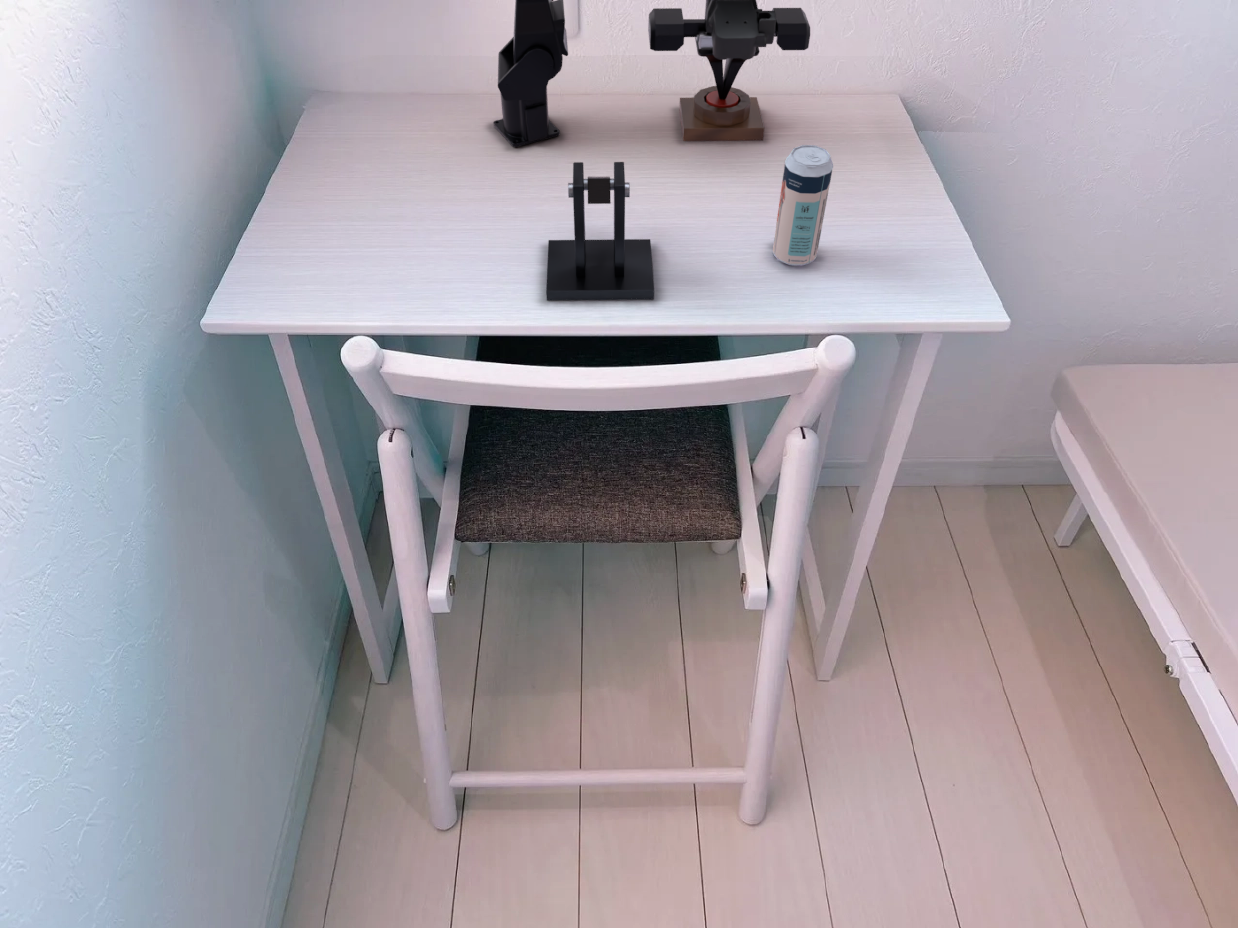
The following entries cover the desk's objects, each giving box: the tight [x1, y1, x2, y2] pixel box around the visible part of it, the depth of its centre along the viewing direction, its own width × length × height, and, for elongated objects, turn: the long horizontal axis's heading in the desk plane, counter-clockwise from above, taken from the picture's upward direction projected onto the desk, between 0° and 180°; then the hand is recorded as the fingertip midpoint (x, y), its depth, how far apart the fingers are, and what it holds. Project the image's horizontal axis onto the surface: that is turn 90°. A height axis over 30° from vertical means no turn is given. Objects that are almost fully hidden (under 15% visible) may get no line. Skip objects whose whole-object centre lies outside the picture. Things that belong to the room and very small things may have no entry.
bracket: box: [545, 161, 655, 301], centre depth 99 cm, size 9×11×12 cm
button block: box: [678, 85, 765, 142], centre depth 124 cm, size 10×8×4 cm
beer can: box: [772, 144, 834, 267], centre depth 101 cm, size 5×5×12 cm
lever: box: [584, 176, 614, 205], centre depth 100 cm, size 11×5×2 cm, turn 1°
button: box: [706, 91, 738, 108], centre depth 123 cm, size 4×4×2 cm
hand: (722, 97), depth 122 cm, fingers closed, pressing on button
